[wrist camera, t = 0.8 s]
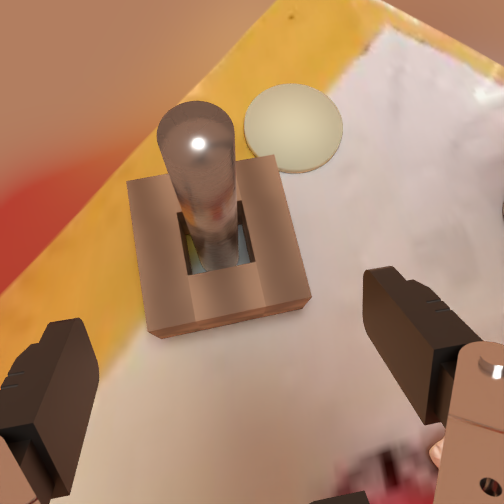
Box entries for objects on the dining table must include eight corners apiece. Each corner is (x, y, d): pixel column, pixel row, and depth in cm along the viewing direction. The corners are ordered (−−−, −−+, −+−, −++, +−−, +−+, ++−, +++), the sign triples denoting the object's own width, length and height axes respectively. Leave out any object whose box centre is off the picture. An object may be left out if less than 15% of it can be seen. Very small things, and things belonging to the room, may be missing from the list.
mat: (326, 82, 49) (328, 76, 48) (352, 163, 46) (354, 158, 45) (235, 97, 48) (235, 92, 47) (255, 181, 45) (256, 177, 44)
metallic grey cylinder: (234, 234, 43) (226, 95, 22) (242, 270, 42) (241, 160, 21) (196, 242, 43) (151, 107, 22) (203, 278, 42) (162, 174, 21)
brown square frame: (270, 183, 45) (274, 154, 39) (302, 308, 41) (311, 296, 35) (141, 207, 44) (126, 181, 38) (161, 338, 40) (147, 331, 34)
